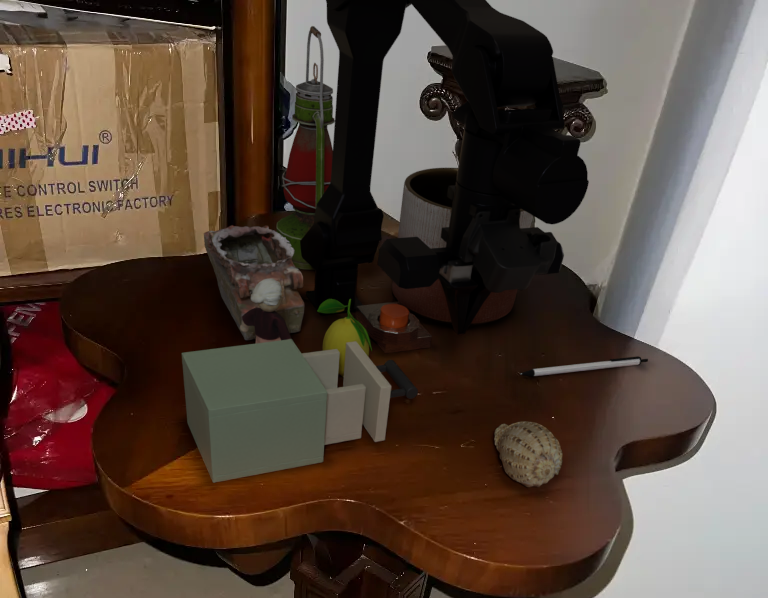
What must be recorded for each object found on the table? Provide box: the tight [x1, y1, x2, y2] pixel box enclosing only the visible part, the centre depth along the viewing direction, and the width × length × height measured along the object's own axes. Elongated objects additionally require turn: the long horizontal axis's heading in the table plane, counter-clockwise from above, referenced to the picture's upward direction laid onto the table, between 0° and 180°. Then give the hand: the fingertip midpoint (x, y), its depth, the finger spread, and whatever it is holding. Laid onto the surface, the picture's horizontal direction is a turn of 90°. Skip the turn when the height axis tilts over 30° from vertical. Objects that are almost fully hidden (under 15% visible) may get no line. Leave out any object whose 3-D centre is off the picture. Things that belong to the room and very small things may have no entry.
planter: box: [391, 167, 534, 326], centre depth 106 cm, size 18×18×16 cm
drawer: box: [301, 341, 419, 446], centre depth 82 cm, size 15×9×7 cm, turn 114°
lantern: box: [276, 25, 335, 271], centre depth 109 cm, size 14×11×30 cm
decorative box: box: [203, 224, 305, 341], centre depth 100 cm, size 13×20×10 cm, turn 17°
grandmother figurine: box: [239, 278, 292, 344], centre depth 86 cm, size 8×4×13 cm, turn 65°
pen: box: [520, 355, 649, 377], centre depth 99 cm, size 1×19×1 cm, turn 110°
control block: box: [354, 300, 433, 354], centre depth 101 cm, size 11×8×4 cm
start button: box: [380, 304, 410, 328], centre depth 97 cm, size 4×4×2 cm
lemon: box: [316, 299, 373, 378], centre depth 90 cm, size 7×6×10 cm
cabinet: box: [181, 338, 327, 484], centre depth 79 cm, size 12×11×9 cm
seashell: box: [494, 421, 563, 488], centre depth 82 cm, size 8×6×10 cm
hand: (459, 332), depth 83 cm, fingers closed
